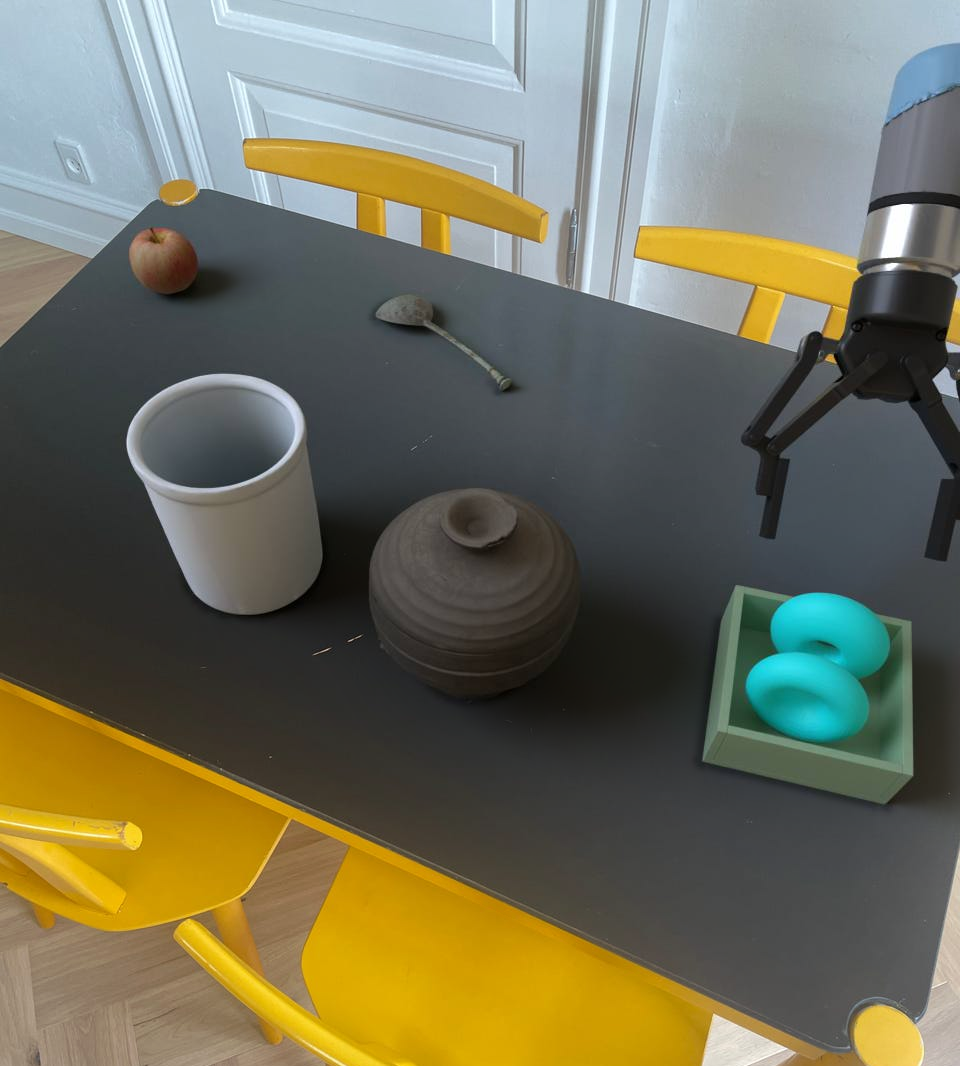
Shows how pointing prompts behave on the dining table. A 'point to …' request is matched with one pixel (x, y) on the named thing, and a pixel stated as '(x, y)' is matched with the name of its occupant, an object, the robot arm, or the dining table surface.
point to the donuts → (818, 667)
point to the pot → (474, 591)
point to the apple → (163, 260)
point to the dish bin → (841, 767)
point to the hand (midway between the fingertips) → (850, 549)
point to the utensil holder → (231, 489)
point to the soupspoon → (428, 325)
